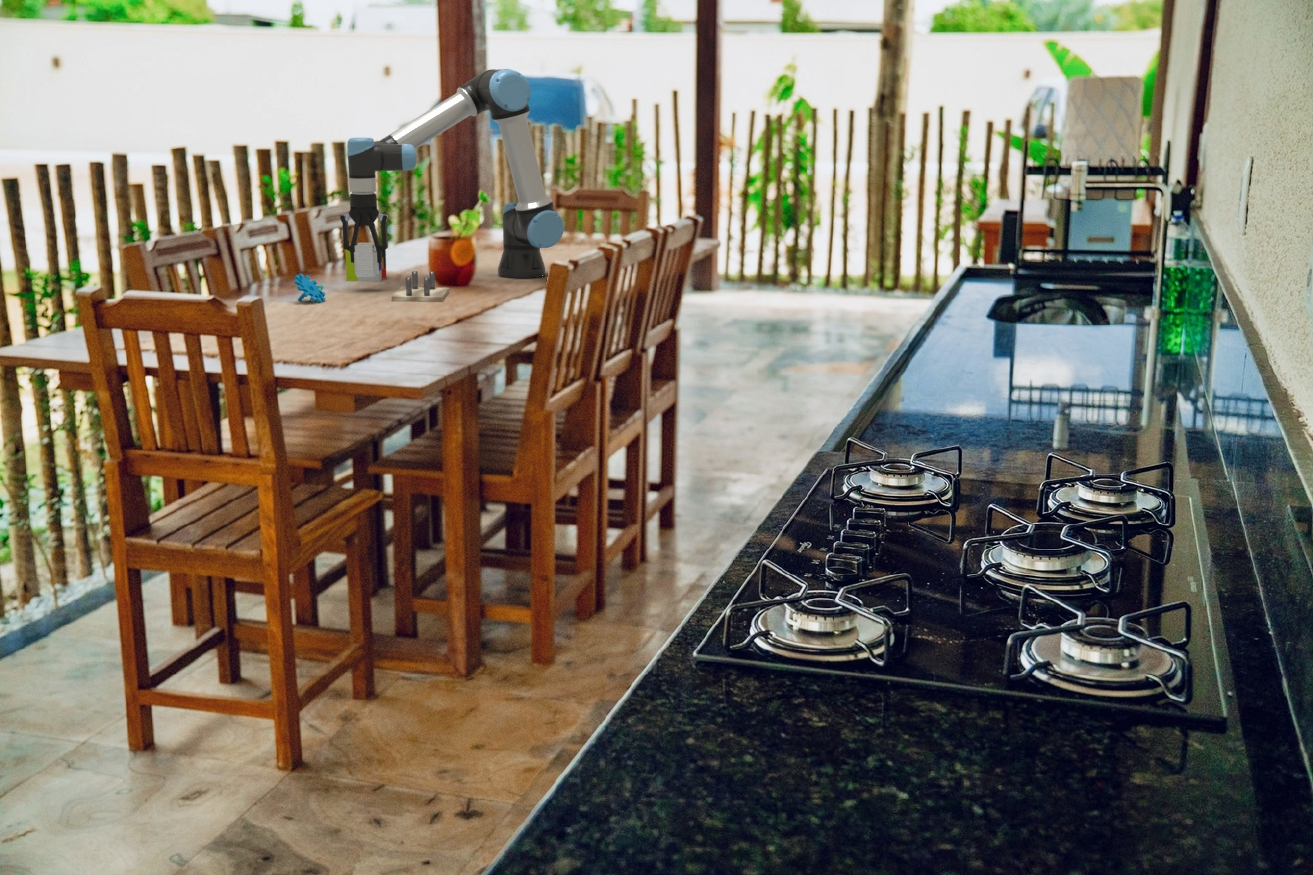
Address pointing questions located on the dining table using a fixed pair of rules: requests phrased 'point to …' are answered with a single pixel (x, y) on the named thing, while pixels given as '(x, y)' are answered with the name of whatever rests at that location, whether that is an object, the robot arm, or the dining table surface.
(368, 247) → the jaw block
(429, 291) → the peg fixture base
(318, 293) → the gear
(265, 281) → the dining table surface
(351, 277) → the puzzle toy
